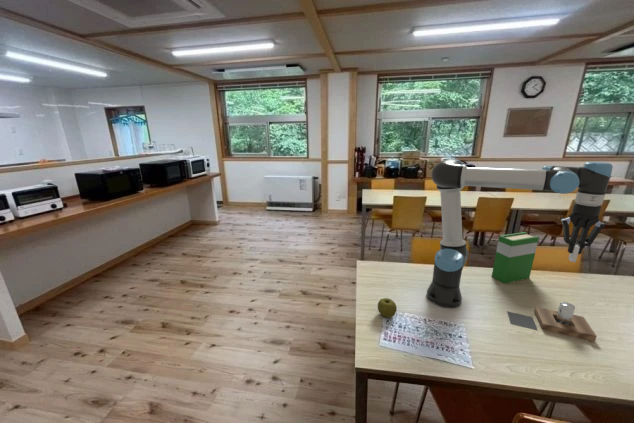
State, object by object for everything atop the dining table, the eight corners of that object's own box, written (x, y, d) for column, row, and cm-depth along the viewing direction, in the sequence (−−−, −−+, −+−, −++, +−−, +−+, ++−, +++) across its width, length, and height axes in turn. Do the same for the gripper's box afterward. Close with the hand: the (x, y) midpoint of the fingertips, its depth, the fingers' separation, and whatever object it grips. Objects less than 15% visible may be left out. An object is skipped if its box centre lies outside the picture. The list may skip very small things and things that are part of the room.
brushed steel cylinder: (556, 328, 110) (562, 307, 107) (552, 321, 113) (558, 300, 110) (570, 331, 108) (577, 309, 105) (566, 324, 112) (572, 303, 109)
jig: (541, 329, 109) (543, 323, 108) (533, 312, 119) (535, 306, 118) (594, 342, 102) (596, 336, 101) (581, 322, 112) (583, 316, 111)
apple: (379, 308, 123) (380, 294, 121) (397, 312, 120) (398, 298, 118) (375, 318, 117) (376, 303, 115) (394, 323, 114) (395, 308, 112)
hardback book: (516, 271, 153) (524, 231, 146) (529, 278, 146) (539, 236, 139) (491, 276, 148) (499, 235, 142) (503, 283, 142) (512, 241, 135)
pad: (510, 324, 112) (510, 323, 112) (506, 312, 120) (507, 311, 119) (537, 331, 108) (537, 330, 108) (532, 317, 116) (532, 316, 116)
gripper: (569, 204, 102) (554, 261, 108) (616, 208, 96) (597, 267, 103) (562, 199, 108) (548, 253, 115) (606, 203, 103) (589, 259, 109)
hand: (571, 260), depth 109 cm, fingers closed
